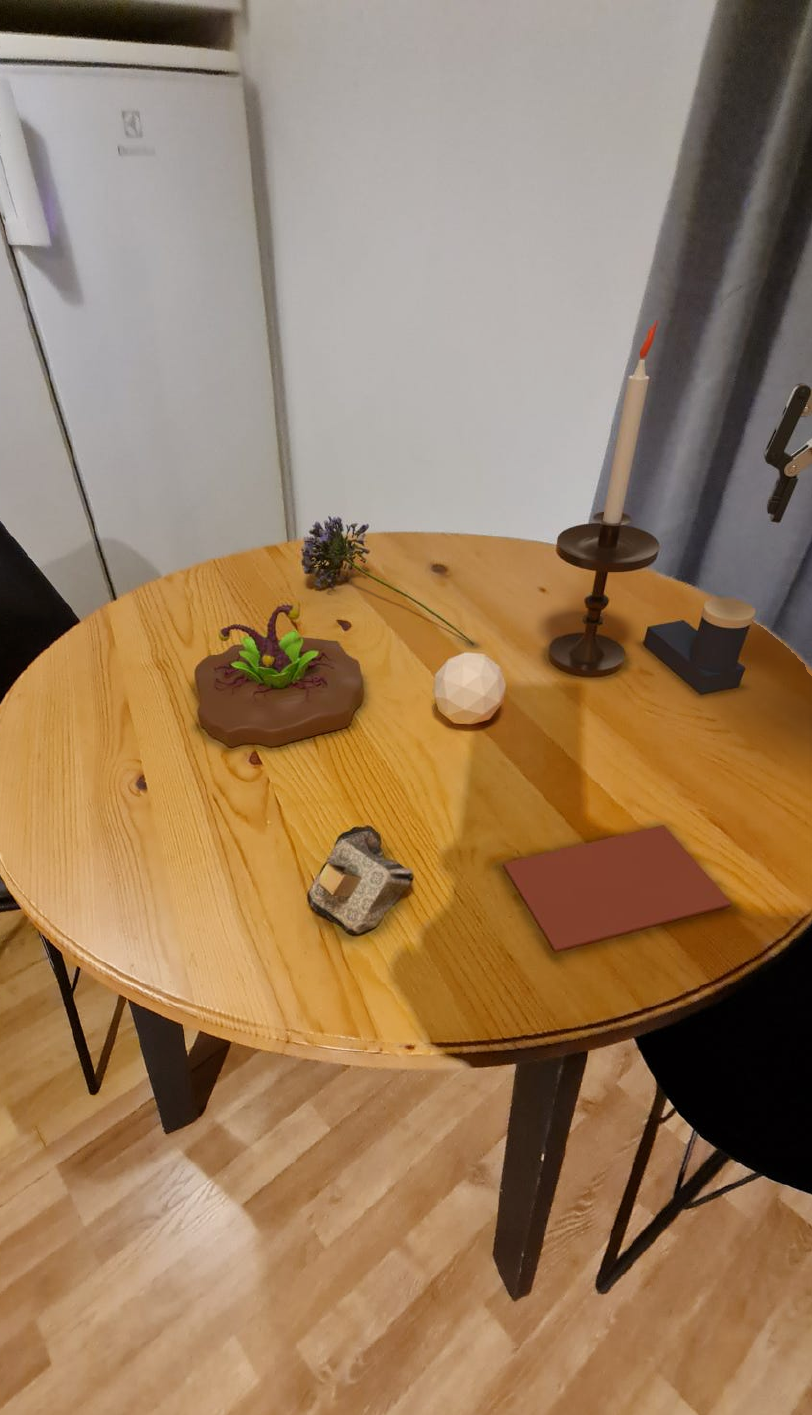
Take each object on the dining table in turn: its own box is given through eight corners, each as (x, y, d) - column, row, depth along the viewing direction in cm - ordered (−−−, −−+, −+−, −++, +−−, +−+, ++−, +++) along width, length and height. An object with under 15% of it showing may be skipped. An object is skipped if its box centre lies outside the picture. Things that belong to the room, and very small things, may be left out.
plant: (379, 732, 82) (377, 641, 75) (201, 758, 80) (181, 667, 73) (347, 643, 97) (342, 560, 89) (196, 664, 95) (178, 580, 87)
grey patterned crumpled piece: (439, 828, 66) (378, 879, 56) (431, 898, 68) (371, 957, 58) (357, 807, 69) (286, 851, 59) (352, 874, 72) (283, 927, 62)
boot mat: (662, 827, 69) (663, 824, 69) (730, 906, 62) (732, 902, 62) (503, 866, 67) (503, 863, 66) (554, 952, 60) (555, 949, 59)
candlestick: (615, 632, 96) (685, 307, 72) (644, 677, 88) (734, 328, 64) (531, 638, 96) (574, 314, 72) (553, 684, 88) (609, 336, 64)
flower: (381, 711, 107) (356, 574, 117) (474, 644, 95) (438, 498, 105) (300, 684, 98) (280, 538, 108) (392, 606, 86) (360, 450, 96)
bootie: (740, 687, 86) (766, 615, 80) (700, 695, 85) (723, 623, 79) (679, 637, 94) (698, 569, 88) (642, 644, 94) (659, 576, 88)
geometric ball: (480, 744, 84) (504, 721, 77) (415, 717, 84) (432, 691, 76) (500, 686, 86) (526, 658, 78) (436, 659, 86) (456, 628, 78)
